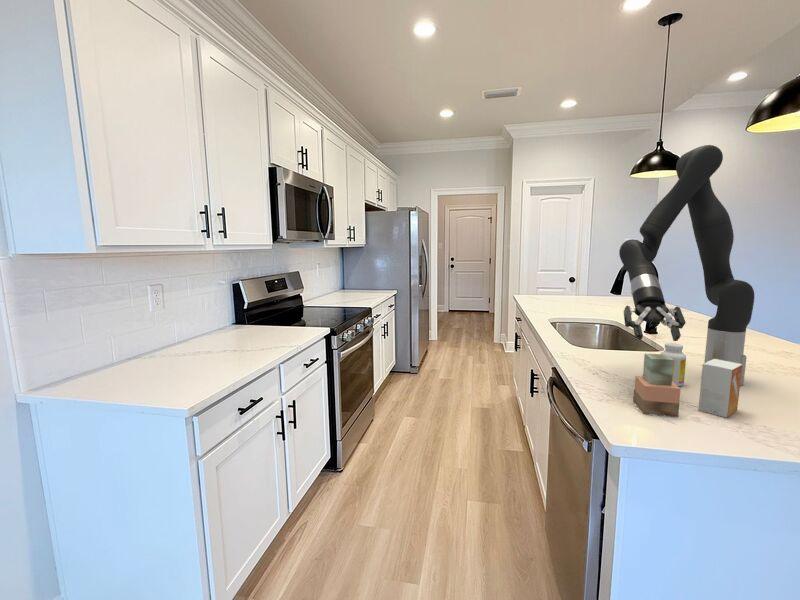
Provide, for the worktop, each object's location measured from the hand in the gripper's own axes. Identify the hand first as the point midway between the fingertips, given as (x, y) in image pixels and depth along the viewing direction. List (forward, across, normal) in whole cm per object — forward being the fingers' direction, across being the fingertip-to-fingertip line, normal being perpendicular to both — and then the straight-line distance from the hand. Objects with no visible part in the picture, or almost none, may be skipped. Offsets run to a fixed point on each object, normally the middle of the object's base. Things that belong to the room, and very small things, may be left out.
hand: (658, 338), depth 102 cm
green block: (+10, -1, +5) cm, 12 cm away
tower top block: (+14, -1, +8) cm, 16 cm away
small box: (+14, +15, +13) cm, 24 cm away
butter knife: (+24, +2, +4) cm, 24 cm away
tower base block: (+16, -1, +11) cm, 19 cm away
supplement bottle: (0, +11, +27) cm, 29 cm away
